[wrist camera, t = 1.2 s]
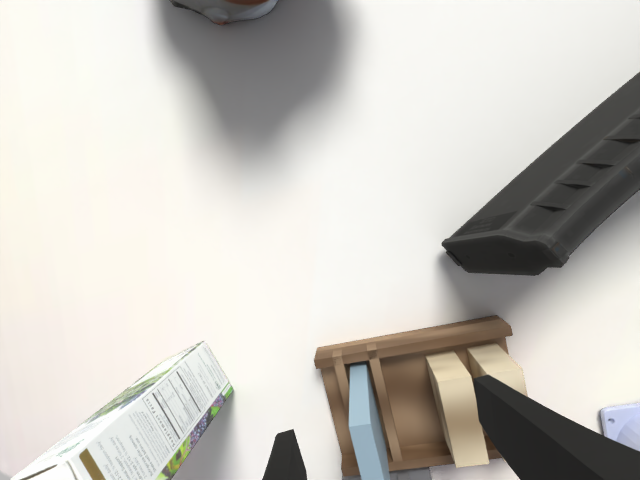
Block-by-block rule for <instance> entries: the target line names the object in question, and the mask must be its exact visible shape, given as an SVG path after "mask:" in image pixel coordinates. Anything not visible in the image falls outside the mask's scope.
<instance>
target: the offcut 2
mask: <svg viewBox="0 0 640 480" xmlns="http://www.w3.org/2000/svg"><path fill="white" fill-rule="evenodd" d="M467 353H468V357H469V362H470V367H471V372H472V377H473V381H474V378H477V377H481V376H484V375H488V374H489V375H490V376H492V377H494V378H496V379H497V380H499V381H501V382H503V383H504V384H506V385H508V386H509V387H511V388H513V389H515V390H516V391H518V392H520V393H522V394H523V395H525V396H527V390H526V385H525V380H524V375H523V370H522V368H521V367H520V366H519V365H518V364H517V363H516V362H515V361H514V360H513V359H512V358H511V357H510V356H509V355H508V354H507V353H506V352H505V351H504V350H503V349H502V348H501V347H500V346H499V345H498V344H496V343H493V344H487V345H481V346H475V347H470V348H467ZM527 397H528V396H527ZM502 458H503V457H502ZM503 460H504V461H505V459H504V458H503ZM505 462H506V461H505Z"/></svg>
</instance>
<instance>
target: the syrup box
mask: <svg viewBox="0 0 640 480" xmlns="http://www.w3.org/2000/svg"><path fill="white" fill-rule="evenodd" d="M232 391H233V387H232V386H231V384H230V382H229V380H228V379H227V377H226V375H225V374H224V372H223V370H222V368H221V367H220V365H219V363H218V362H217V360H216V358H215V357H214V355H213V353H212V352H211V350H210V348H209V347H208V345H207V343H206V342H205V341H202V342H200V343H198V344H196V345H194V346H193V347H191V348H189V349H187V350H185V351H183V352H181V353H179V354H177V355H175V356H174V357H172V358H170V359H168V360H166V361H164V362H162V363H160V364H158V365H157V366H156V367H154V368H153V369H152V370H150V371H149V372H148V373H147V374H145V375H144V376H143V377H141V378H140V379H139V380H138V381H136V382H135V383H134V384H132V385H131V386H130V387H129V388H127V389H126V390H125V391H123V392H122V393H121V394H120V395H118V396H117V397H116V398H114V399H113V400H112V401H110V402H109V403H108V404H107V405H105V406H104V407H103V408H101V409H100V410H99V411H98V412H96V413H95V414H94V415H92V416H91V417H90V418H88V419H87V420H86V421H85V422H83V423H82V424H81V425H79V426H78V427H77V428H76V429H74V430H73V431H72V432H70V433H69V434H68V435H67V436H65V437H64V438H63V439H62V440H60V441H59V442H58V443H56V444H55V445H54V446H53V447H51V448H50V449H49V450H48V451H46V452H45V453H44V454H42V455H41V456H40V457H39V458H37V459H36V460H35V461H33V462H32V463H31V464H30V465H28V466H27V467H26V468H25V469H23V470H22V471H21V472H19V473H18V474H17V475H15V476H14V477H13V478H12V479H10V480H171V479H172V477H173V476H174V474H175V473H176V471H177V470H178V469H179V467H180V466H181V464H182V463H183V461H184V460H185V459H186V457H187V456H188V454H189V453H190V451H191V450H192V449H193V447H194V446H195V444H196V443H197V441H198V440H199V438H200V437H201V435H202V434H203V433H204V431H205V430H206V428H207V427H208V425H209V424H210V422H211V421H212V420H213V418H214V417H215V415H216V414H217V412H218V411H219V410H220V408H221V407H222V405H223V404H224V402H225V401H226V399H227V398H228V397H229V395H230V394H231V392H232Z"/></svg>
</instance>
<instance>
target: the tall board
mask: <svg viewBox="0 0 640 480" xmlns="http://www.w3.org/2000/svg"><path fill="white" fill-rule="evenodd" d="M349 430H350V434H351V438H352V442H353V446H354V450H355V454H356V458H357V463H358V467H359V471H360V475H361V479H362V480H390V474H389V467H388V459H387V451H386V444H385V439H384V434H383V430H382V426H381V422H380V418H379V413H378V409H377V405H376V401H375V397H374V392H373V388H372V384H371V380H370V375H369V371H368V367H367V363H366V361H360V362H354V363H350V395H349Z"/></svg>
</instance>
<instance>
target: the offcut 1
mask: <svg viewBox="0 0 640 480" xmlns="http://www.w3.org/2000/svg"><path fill="white" fill-rule="evenodd" d="M425 357H426V362H427V367H428V371H429V376H430V380H431V385H432V389H433V394H434V398H435V403H436V407H437V412H438V417H439V421H440V426H441V430H442V432H443V435H444V437H445V440H446V442H447V445H448V448H449V450H450V453H451V455H452V458H453V460H454V463H455V466H456V468H459V467H467V466H476V465H484V464H489V459H488V454H487V450H486V445H485V440H484V435H483V430H482V425H481V424H480V422H479V418H478V410H477V402H476V397H475V392H474V387H473V382H472V377H471V375H470V374H469V372H468V371H467V369H466V368H465V366H464V365H463V364H462V362H461V361H460V359H459V358H458V356H457V355H456V353H455V352H454V350H452V351H446V352H440V353H434V354H428V355H425Z"/></svg>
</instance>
